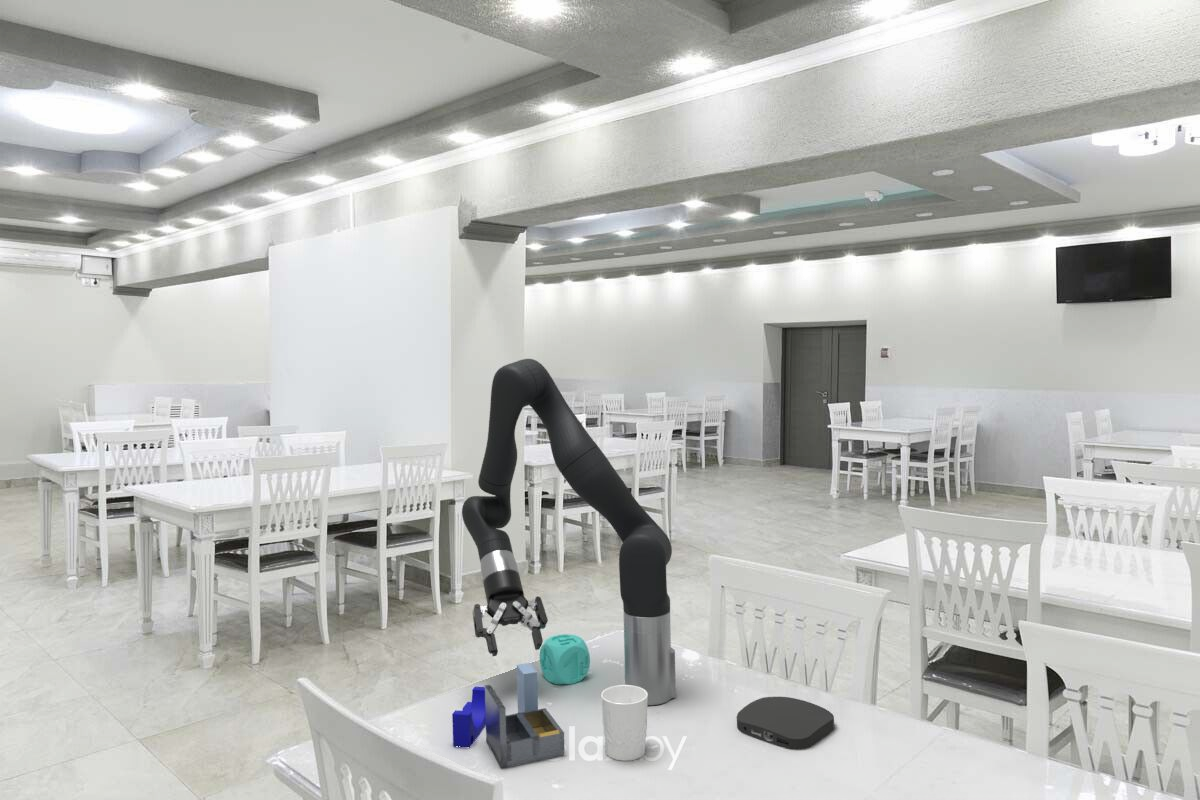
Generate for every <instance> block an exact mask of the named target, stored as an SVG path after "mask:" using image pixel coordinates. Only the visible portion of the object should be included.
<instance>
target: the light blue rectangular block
mask: <svg viewBox="0 0 1200 800" xmlns="http://www.w3.org/2000/svg"><path fill="white" fill-rule="evenodd" d="M516 689H517V691H516V692H517V693H516V694H517V697H516V698H517V713H522V712H527V711H533V710H538V709H539V701H538V700H539V697H538V696H539V692H538V671H537V670H536V669H535V668H534V666H533V665H532V664H531V663H530V662H526V663H525V662H524V663H519V664H516Z"/></svg>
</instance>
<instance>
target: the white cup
mask: <svg viewBox="0 0 1200 800" xmlns="http://www.w3.org/2000/svg"><path fill="white" fill-rule="evenodd" d="M600 694H601V695H600V696H601V697H600V700H601V711H602V712H601V713H602V715H601V716H602V725H603V735H604V742H605V746H604V747H605V753H606V754H607V756H608V757H609V758H611V759H613V760H615V761H624V762H626V761H635V760H637V759H638V760H639V759H641V758H642V757H643V756H644V755H645V753H646V738H647V729H648V705H647V702H648V693H647V691H646V690H644V689H643V688H640V687H637V686H632V685H625V684H618V685H614V686H613V685H612V686H609V687H607V688H605V689H604V690H603V691H602V692H601V693H600Z"/></svg>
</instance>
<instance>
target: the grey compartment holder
mask: <svg viewBox="0 0 1200 800" xmlns="http://www.w3.org/2000/svg"><path fill="white" fill-rule="evenodd" d="M484 687H485V711H486V725H485V737H486V739H485V740H486V741H485V742H486V743H487V745H488V747H489V749H490V751H491V753H492V755H493V757H494V758H495V760H496V762H497V765H498V766H499V767H500V770H502V769H506V768H507V769H508V768H511V767H512V768H513V767H516V766H520V765H526V764H531V763H535V762H541V761H545V760H550V759H555V758H560V757H565V756H566V755H565V754H566V753H565V750H566V749H565V732H564V731H563V729H562V728H561V726H560V725H559V724H558V722H557V721H556V720H555V719H554V717H553V716H552V715H551V713H550V712H549V711H548V709H547V708H545V707H544V708H538V710H533V711H527V712H522V713H518V712H517V713H512V714H506V707H505V705H504V703H503V702H502V700H501V699H500V697H499V695H498V694H497V692H496V691H495V690H494V687H492V685H491V684H485V685H484Z"/></svg>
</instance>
